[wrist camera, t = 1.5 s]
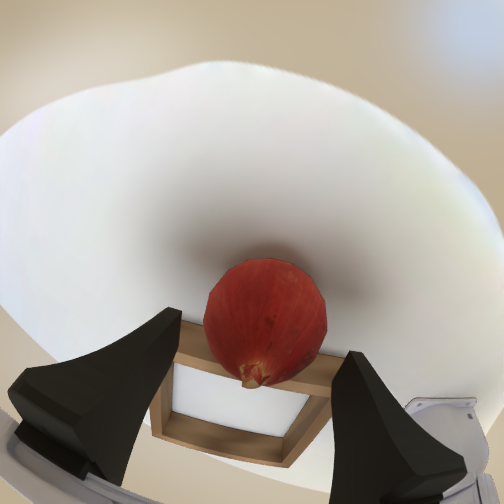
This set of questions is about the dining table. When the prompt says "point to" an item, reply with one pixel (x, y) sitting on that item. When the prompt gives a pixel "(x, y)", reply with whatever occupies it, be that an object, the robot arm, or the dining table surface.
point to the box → (233, 440)
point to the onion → (265, 322)
